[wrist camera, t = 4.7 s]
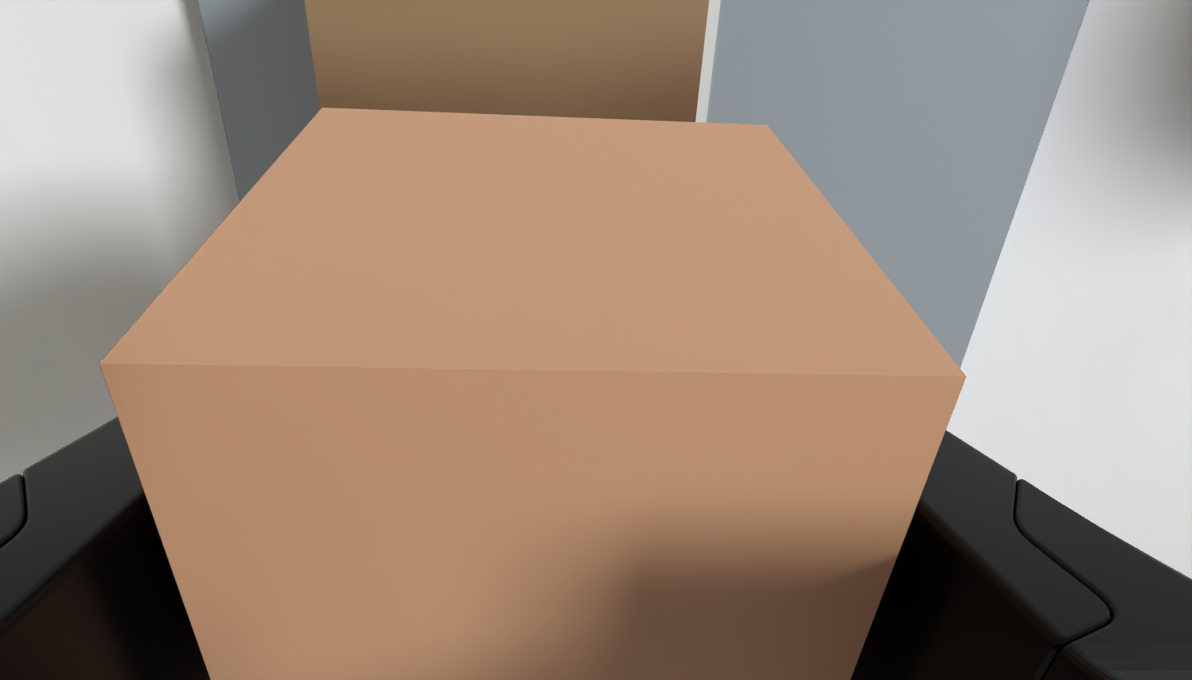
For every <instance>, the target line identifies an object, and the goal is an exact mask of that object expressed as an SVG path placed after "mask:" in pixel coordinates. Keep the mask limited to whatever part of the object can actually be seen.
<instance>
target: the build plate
mask: <svg viewBox="0 0 1192 680" xmlns="http://www.w3.org/2000/svg"><path fill="white" fill-rule="evenodd" d="M198 3H199V8H200V13H201V18H202V23H203V27H204V32H205V37H206V42H207V46H208V51H209V56H210V61H211V65H212V70H213V75H214V80H215V84H216V89H217V94H218V99H219V103H220V108H221V113H222V118H223V123H224V127H225V132H226V137H227V142H228V146H229V151H230V156H231V161H232V165H233V170H234V175H235V180H236V184H237V189H238V194H239V199H240V201H241V200H242V199H243V198H244V197H245V196H246V194H247V193H248V192H249V191H250V190H251V189H252V188H253V186H254V185H255V184H256V183H257V182H258V181H259V180H260V178H261V177H262V176H263V175H264V174H265V173H266V172H267V170H268V169H269V168H270V167H271V166H272V165H273V164H274V162H275V161H276V160H277V159H278V158H279V157H280V155H281V154H282V153H283V152H284V151H285V150H286V149H287V147H288V146H289V145H290V144H291V143H292V142H293V141H294V139H295V138H296V137H297V136H298V135H299V134H300V133H301V131H302V130H303V129H304V128H305V127H306V126H307V125H308V123H309V122H310V121H311V120H312V119H313V118H314V116H315V115H316V114H317V113H318V112H319V111H320V107H319V100H318V93H317V86H316V79H315V72H314V65H313V58H312V51H311V44H310V37H309V30H308V23H307V16H306V9H305V2H304V0H198ZM1088 3H1089V0H709V6H708V15H707V24H706V33H705V42H704V51H703V59H702V68H701V77H700V86H699V95H698V104H697V113H696V122H703V123H728V124H754V125H768V126H769V128H770V129H771V130H772V131H773V133H774V134H775V135H776V136H777V138H778V139H779V140H780V142H781V143H782V144H783V145H784V147H785V148H786V149H787V150H788V152H789V153H790V154H791V155H792V157H793V158H794V159H795V161H796V162H797V163H798V164H799V166H800V167H801V168H802V169H803V171H804V172H805V173H806V174H807V176H808V177H809V178H810V180H811V181H812V182H813V183H814V185H815V186H816V187H817V188H818V190H819V191H820V192H821V193H822V195H823V196H824V197H825V199H826V200H827V201H828V202H829V204H830V205H831V206H832V207H833V209H834V210H835V211H836V212H837V214H838V215H839V216H840V218H841V219H842V220H843V221H844V223H845V224H846V225H847V226H848V228H849V229H850V230H851V231H852V233H853V234H854V235H855V237H856V238H857V239H858V240H859V242H860V243H861V244H862V245H863V247H864V248H865V249H866V250H867V252H868V253H869V254H870V256H871V257H872V258H873V259H874V261H875V262H876V263H877V264H878V266H879V267H880V268H881V269H882V271H883V272H884V273H885V275H886V276H887V277H888V278H889V280H890V281H891V282H892V283H893V285H894V286H895V287H896V288H897V290H898V291H899V292H900V294H901V295H902V296H903V297H904V299H905V300H906V301H907V302H908V304H909V305H910V306H911V308H912V309H913V310H914V311H915V313H916V314H917V315H918V316H919V318H920V319H921V320H922V321H923V323H924V324H925V325H926V327H927V328H928V329H929V330H930V332H931V333H932V334H933V335H934V337H935V338H936V339H937V340H938V342H939V343H940V344H941V346H942V347H943V348H944V349H945V351H946V352H947V353H948V354H949V356H950V357H951V358H952V359H953V361H954V362H955V363H956V365H957V366H958V367H959V368H960V367H961V364H962V361H963V358H964V355H965V352H966V349H967V347H968V344H969V341H970V338H971V335H972V332H973V330H974V327H975V324H976V321H977V318H978V315H979V313H980V310H981V307H982V304H983V301H984V298H985V296H986V293H987V290H988V287H989V284H990V281H991V279H992V276H993V273H994V270H995V267H996V264H997V261H998V259H999V256H1000V253H1001V250H1002V247H1003V244H1004V242H1005V239H1006V236H1007V233H1008V230H1009V227H1010V225H1011V222H1012V219H1013V216H1014V213H1015V210H1016V208H1017V205H1018V202H1019V199H1020V196H1021V193H1022V190H1023V188H1024V185H1025V182H1026V179H1027V176H1028V173H1029V171H1030V168H1031V165H1032V162H1033V159H1034V156H1035V154H1036V151H1037V148H1038V145H1039V142H1040V139H1041V137H1042V134H1043V131H1044V128H1045V125H1046V122H1047V120H1048V117H1049V114H1050V111H1051V108H1052V105H1053V102H1054V100H1055V97H1056V94H1057V91H1058V88H1059V85H1060V83H1061V80H1062V77H1063V74H1064V71H1065V68H1066V66H1067V63H1068V60H1069V57H1070V54H1071V51H1072V49H1073V46H1074V43H1075V40H1076V37H1077V34H1078V31H1079V29H1080V26H1081V23H1082V20H1083V17H1084V14H1085V12H1086V9H1087V6H1088Z"/></svg>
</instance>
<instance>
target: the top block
mask: <svg viewBox="0 0 1192 680" xmlns="http://www.w3.org/2000/svg"><path fill="white" fill-rule="evenodd" d="M99 364H100V367H101V370H102V373H103V376H104V378H105V381H106V384H107V387H108V390H109V393H110V396H111V398H112V401H113V404H114V407H115V410H116V413H117V415H118V418H119V421H120V424H121V427H122V430H123V432H124V435H125V438H126V441H127V444H128V447H129V449H130V452H131V455H132V458H133V461H134V464H135V466H136V469H137V472H138V475H139V478H140V481H141V483H142V486H143V489H144V492H145V495H146V498H147V500H148V503H149V506H150V509H151V512H152V515H153V517H154V520H155V523H156V526H157V529H158V532H159V534H160V537H161V540H162V543H163V546H164V549H165V551H166V554H167V557H168V560H169V563H170V566H171V568H172V571H173V574H174V577H175V580H176V583H177V586H178V588H179V591H180V594H181V597H182V600H183V603H184V605H185V608H186V611H187V614H188V617H189V620H190V622H191V625H192V628H193V631H194V634H195V637H196V639H197V642H198V645H199V648H200V651H201V654H202V656H203V659H204V662H205V665H206V668H207V671H208V673H209V676H210V679H211V680H850V679H851V677H852V674H853V671H854V669H855V666H856V664H857V661H858V658H859V656H860V653H861V650H862V648H863V645H864V643H865V640H866V637H867V635H868V632H869V630H870V627H871V624H872V622H873V619H874V616H875V614H876V611H877V609H878V606H879V603H880V601H881V598H882V595H883V593H884V590H885V588H886V585H887V582H888V580H889V577H890V575H891V572H892V569H893V567H894V564H895V561H896V559H897V556H898V554H899V551H900V548H901V546H902V543H903V540H904V538H905V535H906V533H907V530H908V527H909V525H910V522H911V520H912V517H913V514H914V512H915V509H916V506H917V504H918V501H919V499H920V496H921V493H922V491H923V488H924V485H925V483H926V480H927V478H928V475H929V472H930V470H931V467H932V465H933V462H934V459H935V457H936V454H937V451H938V449H939V446H940V444H941V441H942V438H943V436H944V433H945V430H946V428H947V425H948V423H949V420H950V417H951V415H952V412H953V410H954V407H955V404H956V402H957V399H958V396H959V394H960V391H961V389H962V386H963V383H964V381H965V378H966V376H965V375H964V373H963V372H962V371H961V370H960V368H959V367H958V366H957V365H956V363H955V362H954V361H953V359H952V358H951V357H950V356H949V354H948V353H947V352H946V351H945V349H944V348H943V347H942V346H941V344H940V343H939V342H938V340H937V339H936V338H935V337H934V335H933V334H932V333H931V332H930V330H929V329H928V328H927V327H926V325H925V324H924V323H923V321H922V320H921V319H920V318H919V316H918V315H917V314H916V313H915V311H914V310H913V309H912V308H911V306H910V305H909V304H908V302H907V301H906V300H905V299H904V297H903V296H902V295H901V294H900V292H899V291H898V290H897V288H896V287H895V286H894V285H893V283H892V282H891V281H890V280H889V278H888V277H887V276H886V275H885V273H884V272H883V271H882V269H881V268H880V267H879V266H878V264H877V263H876V262H875V261H874V259H873V258H872V257H871V256H870V254H869V253H868V252H867V250H866V249H865V248H864V247H863V245H862V244H861V243H860V242H859V240H858V239H857V238H856V237H855V235H854V234H853V233H852V231H851V230H850V229H849V228H848V226H847V225H846V224H845V223H844V221H843V220H842V219H841V218H840V216H839V215H838V214H837V212H836V211H835V210H834V209H833V207H832V206H831V205H830V204H829V202H828V201H827V200H826V199H825V197H824V196H823V195H822V193H821V192H820V191H819V190H818V188H817V187H816V186H815V185H814V183H813V182H812V181H811V180H810V178H809V177H808V176H807V174H806V173H805V172H804V171H803V169H802V168H801V167H800V166H799V164H798V163H797V162H796V161H795V159H794V158H793V157H792V155H791V154H790V153H789V152H788V150H787V149H786V148H785V147H784V145H783V144H782V143H781V142H780V140H779V139H778V138H777V136H776V135H775V134H774V133H773V131H772V130H771V129H770V128H769V126H768V125H754V124H728V123H703V122H677V121H652V120H626V119H601V118H575V117H550V116H524V115H499V114H473V113H448V112H422V111H397V110H371V109H346V108H321V110H320V111H319V112H318V113H317V114H316V115H315V116H314V118H313V119H312V120H311V121H310V122H309V123H308V125H307V126H306V127H305V128H304V129H303V130H302V131H301V133H300V134H299V135H298V136H297V137H296V138H295V139H294V141H293V142H292V143H291V144H290V145H289V146H288V147H287V149H286V150H285V151H284V152H283V153H282V154H281V155H280V157H279V158H278V159H277V160H276V161H275V162H274V164H273V165H272V166H271V167H270V168H269V169H268V170H267V172H266V173H265V174H264V175H263V176H262V177H261V178H260V180H259V181H258V182H257V183H256V184H255V185H254V186H253V188H252V189H251V190H250V191H249V192H248V193H247V194H246V196H245V197H244V198H243V199H242V200H241V201H240V203H239V204H238V205H237V206H236V207H235V208H234V209H233V211H232V212H231V213H230V214H229V215H228V216H227V217H226V219H225V220H224V221H223V222H222V223H221V224H220V225H219V227H218V228H217V229H216V230H215V231H214V232H213V233H212V235H211V236H210V237H209V238H208V239H207V240H206V242H205V243H204V244H203V245H202V246H201V247H200V248H199V250H198V251H197V252H196V253H195V254H194V255H193V256H192V258H191V259H190V260H189V261H188V262H187V263H186V264H185V266H184V267H183V268H182V269H181V270H180V271H179V272H178V274H177V275H176V276H175V277H174V278H173V279H172V281H171V282H170V283H169V284H168V285H167V286H166V287H165V289H164V290H163V291H162V292H161V293H160V294H159V295H158V297H157V298H156V299H155V300H154V301H153V302H152V303H151V305H150V306H149V307H148V308H147V309H146V310H145V311H144V313H143V314H142V315H141V316H140V317H139V318H138V320H137V321H136V322H135V323H134V324H133V325H132V326H131V328H130V329H129V330H128V331H127V332H126V333H125V334H124V336H123V337H122V338H121V339H120V340H119V341H118V342H117V344H116V345H115V346H114V347H113V348H112V349H111V350H110V352H109V353H108V354H107V355H106V356H105V357H104V359H103V360H102V361H101V362H100V363H99Z"/></svg>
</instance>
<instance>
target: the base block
mask: <svg viewBox="0 0 1192 680" xmlns="http://www.w3.org/2000/svg"><path fill="white" fill-rule="evenodd" d="M304 2H305V9H306V16H307V23H308V30H309V37H310V44H311V51H312V58H313V65H314V72H315V79H316V86H317V93H318V100H319V107H320V110H321V108H346V109H371V110H397V111H422V112H448V113H473V114H499V115H524V116H550V117H575V118H601V119H626V120H652V121H677V122H696V113H697V104H698V95H699V86H700V77H701V68H702V59H703V51H704V42H705V33H706V24H707V15H708V6H709V0H304Z"/></svg>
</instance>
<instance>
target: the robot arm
mask: <svg viewBox="0 0 1192 680" xmlns="http://www.w3.org/2000/svg"><path fill="white" fill-rule="evenodd" d="M0 680H211V679H210V676H209V673H208V671H207V668H206V665H205V662H204V659H203V656H202V654H201V651H200V648H199V645H198V642H197V639H196V637H195V634H194V631H193V628H192V625H191V622H190V620H189V617H188V614H187V611H186V608H185V605H184V603H183V600H182V597H181V594H180V591H179V588H178V586H177V583H176V580H175V577H174V574H173V571H172V568H171V566H170V563H169V560H168V557H167V554H166V551H165V549H164V546H163V543H162V540H161V537H160V534H159V532H158V529H157V526H156V523H155V520H154V517H153V515H152V512H151V509H150V506H149V503H148V500H147V498H146V495H145V492H144V489H143V486H142V483H141V481H140V478H139V475H138V472H137V469H136V466H135V464H134V461H133V458H132V455H131V452H130V449H129V447H128V444H127V441H126V438H125V435H124V432H123V430H122V427H121V424H120V421H119V418H118V417H116V418H114V419H113V420H111V421H109V422H107V423H106V424H104V425H102V426H100V427H99V428H97V429H95V430H93V431H92V432H90V433H88V434H86V435H84V436H83V437H81V438H79V439H77V440H76V441H74V442H72V443H70V444H69V445H67V446H65V447H63V448H62V449H60V450H58V451H56V452H55V453H53V454H51V455H49V456H47V457H46V458H44V459H42V460H40V461H39V462H37V463H35V464H33V465H32V466H30V467H28V468H26V469H25V470H24V471H23V476H22V475H20V474H16V475H14V476H12V477H10V478H8V479H7V480H5V481H3V482H1V483H0ZM850 680H1192V579H1191V578H1189V577H1187V576H1185V575H1183V574H1182V573H1180V572H1178V571H1176V570H1174V569H1173V568H1171V567H1169V566H1167V565H1165V564H1164V563H1162V562H1160V561H1158V560H1156V559H1155V558H1153V557H1151V556H1149V555H1148V554H1146V553H1144V552H1142V551H1141V550H1139V549H1137V548H1135V547H1134V546H1132V545H1130V544H1128V543H1127V542H1125V541H1123V540H1121V539H1120V538H1118V537H1116V536H1114V535H1113V534H1111V533H1109V532H1107V531H1106V530H1104V529H1102V528H1100V527H1099V526H1097V525H1096V524H1094V523H1092V522H1091V521H1089V520H1087V519H1086V518H1084V517H1083V516H1081V515H1079V514H1078V513H1076V512H1074V511H1073V510H1071V509H1070V508H1068V507H1066V506H1065V505H1063V504H1061V503H1060V502H1058V501H1056V500H1055V499H1053V498H1052V497H1050V496H1049V495H1047V494H1045V493H1044V492H1042V491H1041V490H1039V489H1038V488H1036V487H1035V486H1033V485H1032V484H1030V483H1028V482H1027V481H1025V480H1023V479H1020V480H1018V481H1017V476H1016V475H1015V474H1014V473H1012V472H1011V471H1009V470H1008V469H1006V468H1005V467H1003V466H1001V465H1000V464H998V463H997V462H995V461H994V460H992V459H990V458H989V457H987V456H986V455H984V454H983V453H981V452H980V451H978V450H976V449H975V448H973V447H972V446H970V445H969V444H967V443H965V442H964V441H962V440H961V439H959V438H958V437H956V436H954V435H953V434H951V433H950V432H948V431H947V430H945V433H944V436H943V438H942V441H941V444H940V446H939V449H938V451H937V454H936V457H935V459H934V462H933V465H932V467H931V470H930V472H929V475H928V478H927V480H926V483H925V485H924V488H923V491H922V493H921V496H920V499H919V501H918V504H917V506H916V509H915V512H914V514H913V517H912V520H911V522H910V525H909V527H908V530H907V533H906V535H905V538H904V540H903V543H902V546H901V548H900V551H899V554H898V556H897V559H896V561H895V564H894V567H893V569H892V572H891V575H890V577H889V580H888V582H887V585H886V588H885V590H884V593H883V595H882V598H881V601H880V603H879V606H878V609H877V611H876V614H875V616H874V619H873V622H872V624H871V627H870V630H869V632H868V635H867V637H866V640H865V643H864V645H863V648H862V650H861V653H860V656H859V658H858V661H857V664H856V666H855V669H854V671H853V674H852V677H851V679H850Z"/></svg>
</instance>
